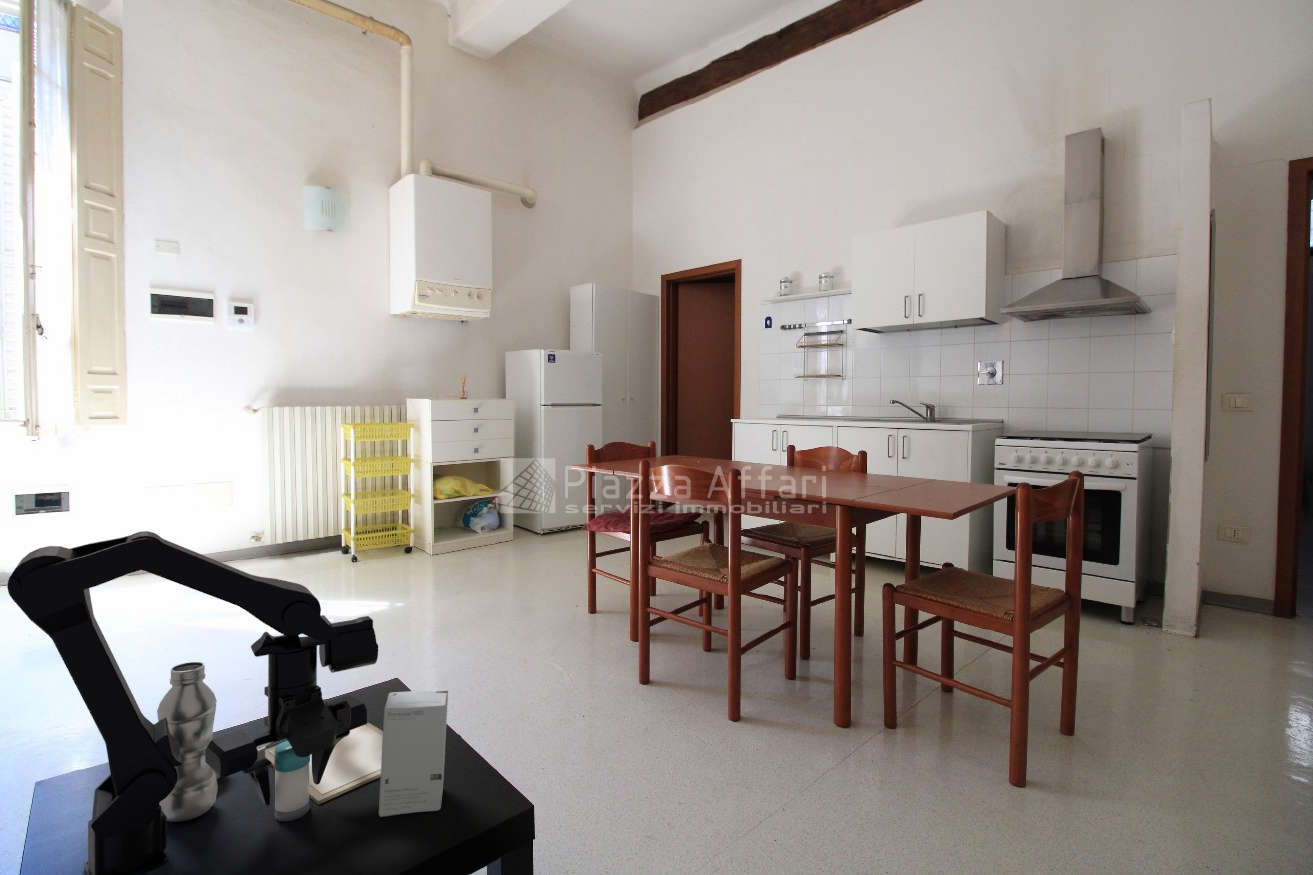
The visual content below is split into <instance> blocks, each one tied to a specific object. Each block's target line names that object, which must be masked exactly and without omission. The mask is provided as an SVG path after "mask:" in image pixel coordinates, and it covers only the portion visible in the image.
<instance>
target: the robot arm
mask: <svg viewBox="0 0 1313 875" xmlns="http://www.w3.org/2000/svg"><path fill="white" fill-rule="evenodd" d="M140 571H144V572H148V573H150V574H151V575H155V576H158V577H160V578H162V579H165V580H168V581H171V582H173V583H175V584H179V585H182V586H184V587H187V588H188V589H189V588H190V589H192V590H194V591H196V592H197V591H198V592H199V593H203V594H205V595H209V596H211V597H213V598H216V599H219V600H222V601H224V602H226V603H229V604H232V605H234V606H237V607H239V608H241V609H242V610H244V611H246V612H247V613H249V614H250V615H252V616H253V617H254V618H255V619H257V620H258V621H259V622H262V623H263V624H265V625H266V626H268V627H270V628H271V629H272V630H275V631H276V632H277V633H280V634H281V635H276V636H275V635H271V634H270V633H269V631H264V632H263V633H262V635H261V636H260V637H259V638H258V639H257V640H256V641H254V642H253V643H252V644H251V645H250V649H251V651H252V654H253V655H254V656H255V658H259V657H264V656H267V661H268V662H267V666H268V667H267V668H268V670H267V671H268V672H267V677H268V681H267V683H268V684H267V686H265V687H264V695H265V696H266V697H267V716H264V719H263V720H264V721H263V722H264V723H263V724H264V726H266V727H267V731H265V732H261V733H259V734H256V735H253V736H249V735H248V734H246V733H245V732H244V731H243V730H241V729H240V730H238V731H234V732H232V733H228V734H225V735H222V736H219V737H216V738H214V739H213V738H212V740H211V741H210V743H209V744H208V746H207V748H206V749H205V762H206V763H207V764H208V765H209V766H210V767H211V768H212V769H213V770H214V771H215V772H216V773H217V774H218V775H219V776H220V777H230V776H232V775H235V774H237V773H240V772H242V773H244V774H248V775H249V777H250V779H251V781H252V783H253V785H254V788H255V789H256V791H257V793H258V796H259V797H260V800H261V802H262V804H263V805H264V806H265V807H268V806H270V804H271V802H270V801H271V786H270V772H269V770H270V768H271V767H272V766H271V764H272V762H271V761H269V760H268V759H267V758H266V757H265V750H266V749H269V748H271V747H274V746H277V745H279V744H280V743H282V742H285V741H287V740H288V742H289V743H290V745H291V746H292V748H293V749H294V753H295V754H296V755H297V756H298V757H307V756H310V755H311V754H312V776H313V782H314V783H315V784H316V785H318V784H320V781H321V779H322V776H323V774H324V771H325V768H326V766H327V763H328V761H329V758H330V756H331V753H332V751H333V749H334V747H335V745H336V744H337V743H338V742H339V741H340V740H341V739H343V738H344V737H346V736H348V735H349V734H350V730H352V729H355V728H358V727H360V726H363V725H366V724H367V723H370V722H369V721H370V716H369V715H370V710H369V707H368V705H367V704H365V702H362V701H360V700H359V699H357V698H355V697H353V696H352V695H351V694H347V695H343V696H341V697H338V698H334V699H331V700H329V701H325V702H324V699H323V692H322V687H321V686H319V685H317V684H318V682H317V681H318V678H317V677H318V676H317V675H318V673H317V672H318V658H319V662H320V666H321V668H325V667H328V669H329V671H330V673H331V674H333V673H334V674H335V673H338V672H344V671H347V670H352V669H357V668H362V667H366V666H367V667H368V666H371V665H375V664H376V663H377V661H378V658H379V644H378V643H377V636H376V631H375V628H374V620H373V618H372V617H370V616H369V615H366V616H365V615H364V616H359V617H357V618H355V619H351V620H350V619H349V620H345V621H343V620H342V621H337V622H331V621H330V620H329V619H328V618H327V617H326V616H325V615H324V614H321V613H322V612H321V611H322V607H321V604H320V603H321V602H320V601H319V599H318V598H317V597H316V596H315V595H314V594H313V593H312V592H311V590H309V589H308V587H306V586H304V585H303V584H301V583H297V582H292V581H287V580H283V579H279V578H273V577H266V576H265V577H263V576H259V575H254V574H250V573H248V572H246V571H243V570H241V569H238V568H236V567H233V566H231V565H228V564H226V563H223V562H221V561H218V560H216V559H213V558H211V557H208V556H207V555H204V554H201V553H198V552H196V551H194V550H191V549H190V548H187V547H185V546H182V545H180V544H177V543H175V542H173V541H169V540H167V539H164V538H163V537H161V536H160V535H159V534H157V533H155V532H152V531H148V530H147V531H143V530H142V531H137V532H135V533H132V534H130V535H126V536H123V537H118V538H112V539H107V540H103V541H102V540H101V541H95V542H91V543H87V544H86V543H85V544H83V545H78V546H75V547H71V548H68V547H64V546H60V545H59V546H58V545H49V546H44V547H39V548H36V549H34V550H32V551H30V552H29V553H27V554H26V555H25V556H24V557H23V558H22V559H21V560H20V561H19V563H18V564H17V566H16V567H15V568H14V569H13V571H12V573H11V574H10V576H9V577H8V581H7V586H6V587H7V592H8V595H9V597H10V598H11V599H12V601H13V602H14V603H15V604H16V605H17V606H18V608H19V609H20V610H21V611H22V612H23V614H25V615H26V617H27V618H28V619H29V620H30V621H31V622H32V623H33V624H34V625H35V626H36V627H38V628H39V629H40V630H42V631H43V632H44V633H45V634H46V635H47V636H48V637H49V638H50V639H51V640H52V642H53V644H54V646H55V647H56V649H57V651H58V653H59V655H60V658H61V659H62V661H63V663H64V665H65V667H66V669H67V671H68V673H69V676H70V677H71V678H72V681H73V682H74V684H75V686H76V688H77V690H78V692H79V694H80V696H81V698H82V700H83V702H84V703H85V704H84V705H86V708H87V710H88V711H89V712H88V713H89V714H90V715H91V718H92V720H93V722H94V724H95V725H96V727H97V729H98V731H99V734H100V735H101V737H102V739H103V741H104V744H105V748H106V753H107V760H108V761H107V762H108V766H109V772H110V774H109V775H108V776H107V777H106V778H105V779H104V780H103V781H102V782H101V783H99V785H98V786H96V788H95V789H94V793H93V805H92V813H91V814H92V815H91V819H89V820H88V821H87V852H88V853H87V858H88V859H87V861H85V862H84V864H83V869H84V871H85V873H86V874H87V875H140V874H143V873H145V872H147V871H150V870H152V869H154V868H156V867H158V866H161V865H163V864H165V863H166V862H167V855H166V853H165V852H164V851H165V850H166V849H167V847H168V821H167V816H166V815H165V814H164V813H163V811H162V810H161V806H160V804H159V803H160V802H161V801H162V800H164V799H165V798H166V797H167V796H168V795H169V794H170V793H171V792H172V791H173V789H174V787H175V785H176V783H177V780H178V774H177V766H180V765H181V764H182V763H181V755H180V748H179V741H178V740H176V739H175V738H173V736H172V735H171V734H170V731H169V727H168V722H167V718H163V719H162V720H160V721H159V722H158V721H157V722H155V723H152V722H151V721H150V720H149V719H148V718H147V717H146V716H144V714H143V713H142V710H141V709H140V707H139V703H137V700H136V699H135V696H134V695H133V692H132V690H131V688H130V686H129V684H128V682H127V680H126V678H125V676H124V674H123V672H122V670H121V668H120V666H119V664H118V661H117V660H116V658H115V655H114V653H113V652H112V650H111V648H110V646H109V643H108V642H107V640H106V637H105V636H104V634H103V632H102V629H101V627H100V626H99V623H98V621H97V619H96V618H95V614H94V608H93V603H92V598H91V592H90V589H92V588H94V587H98V586H100V585H103V584H105V583H108V582H111V581H114V580H116V579H119V578H122V577H124V576H126V575H129V574H132V573H135V572H140ZM300 635H304V636H300ZM318 654H319V657H318Z"/></svg>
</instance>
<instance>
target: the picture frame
mask: <svg viewBox="0 0 1313 875" xmlns="http://www.w3.org/2000/svg"><path fill="white" fill-rule="evenodd" d="M382 741H383V729H382V730H381V729H380V728H379V727H377V726H375V725H373V724H372V723H370V722H368V723H367V724H366V725H363V726H360V727H358V728H355V729H352V730H350V734H349V735H348V736H346V737H344V738H343V739H341V740H340V741H339V742H338V743H337V744H336V745H335V747H334V749H333V751H332V753H331V756H330V758H329V761H328V763H327V766H326V768H325V771H324V774H323V776H322V779H321V781H320V784H318V785H316V784H315V783H314V782H313V776H312V754H311V755H310V762H309V799H311V800H312V801H313V802H315V803H316V804H317V805H321V804H323V803H325V802H327V801H329V800H332V799H334V798H336V797H338V796H340V795H342V794H345V793H347V792H350V791H351V790H354V789H356V788H358V787H360V786H363V785H366V784H367V783H369V782H371V781H374V780H376V779H379V778H381V761H382ZM276 746H277V745H274V746H271V747H268V748H266V750H265V757H266V758H267V759H268V760H269V761H271V762H272V764H271V766H270V767H272V768H274V750H275V747H276Z"/></svg>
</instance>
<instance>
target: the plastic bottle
mask: <svg viewBox="0 0 1313 875" xmlns="http://www.w3.org/2000/svg"><path fill="white" fill-rule="evenodd" d="M205 666H206V664H205V663H204V662H202V661H188V662H183V663H179V664H177V665H174V666H173V667H171V669H170V679H169V684H170V685H172V686H171V688H170V689H169V690H168V691H167V692H166V694H165V695H164V696H163V697H162V699H161V700H160V702H159V705H158V708H157V710H156V716H157V722H159V721H160V720H162V719H163V718H167V722H168V727H169V731H170V734H171V735H172V736H173V738H175V739H176V740H178V741H179V748H180V755H181V763H182V764H181V765H180V766H177V774H178V780H177V783H176V785H175V787H174V789H173V791H172V792H171V793H170V794H169V795H168V796H167V797H166V798H165V799H164V800H162V801H161V802H160V803H159V804H160V806H161V810H162V811H163V813H164V814H165V815H166V816H167V822H172V823H177V822H178V823H179V822H185V821H190V820H193V819H197V818H199V816H200V817H201V816H202V815H204V814H205V813H207V812H208V811H209V810H210V809H211V807H212V806H214V803H215V802H216V801H217V795H218V789H219V786H218V779H217V780H216V776H215V772H214V770H213V769H212V768H211V767H210V766H209V765H208V764H207V763H206V762H205V749H206V748H207V746H208V744H209V743H210V741H211V740H213V732H214V731H213V730H214V723H215V716H216V711H217V702H218V700H217V698H216V695H215V692H214V691H213V690H212V689H211V688H210V687H209V686H208V685H207V684H206V683H205V682H204V681H203V680H205V679H206V673H205V669H206V668H205Z"/></svg>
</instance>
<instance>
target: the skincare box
mask: <svg viewBox="0 0 1313 875" xmlns="http://www.w3.org/2000/svg"><path fill="white" fill-rule="evenodd" d="M448 698H449V690H448V689H439V690H438V689H437V690H423V689H421V690H418V689H417V690H411V691H409V690H408V691H396V692H395V691H394V692H389V693H388V696H387V699H386V703H385V705H384V710H383V723H382V724H383V725H382V726H383V728H382V731H383V741H382V761H381V777H380V781H379V782H380V783H379V796H378V797H379V798H378V799H379V801H378V802H379V803H378V815H379V818H384V817H391V816H398V815H405V814H413V813H423V812H436V811H440V810H441V808H442V800H443V799H442V798H443V792H444V790H443V789H444V779H445V777H444V776H445V760H446V759H445V758H446V739H447V738H446V737H447V720H448V718H447V717H448V700H449V699H448Z"/></svg>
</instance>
